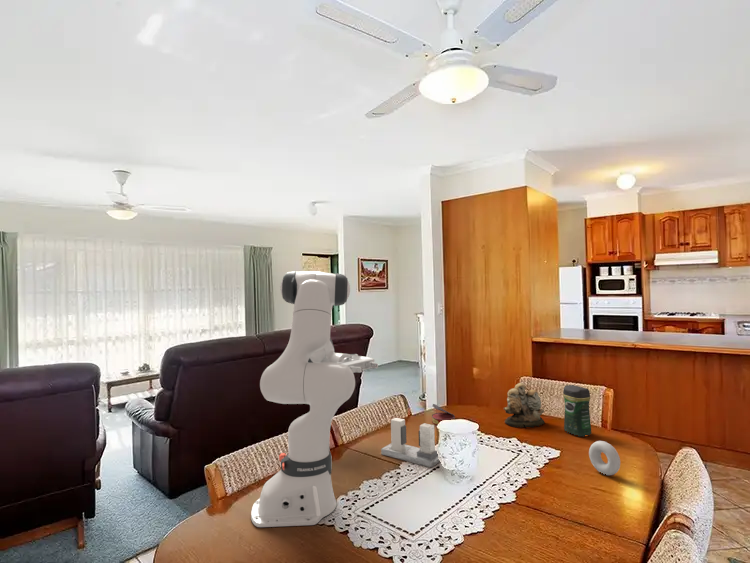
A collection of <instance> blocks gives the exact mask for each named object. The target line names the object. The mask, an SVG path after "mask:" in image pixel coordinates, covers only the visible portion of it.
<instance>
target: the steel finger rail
mask: <svg viewBox="0 0 750 563" xmlns="http://www.w3.org/2000/svg"><path fill="white" fill-rule="evenodd" d="M435 438H436V437H435V425H434V424H429V423H425V422H424V423H422V424H420V425H419V430H418V446H419V447H417V446H413V445H408V444H405V447H406V451H404V452H400V451H396V450H392V449H391V443H389V444H387V445H385V446H384V447H382V448H381V449H380V450H381V452H380V454H381V455H383V456H387V457H390V458H394V459H398V460H401V461H405V462H409V463H413V464H416V465H419V466H422V467H423V466H424V467H428V468H433V467H434V466H436V465H437V464H439V463H440V462H439V459H438V454H437V451H438V450H436V442H435V441H436V440H435Z"/></svg>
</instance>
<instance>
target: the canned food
mask: <svg viewBox="0 0 750 563" xmlns="http://www.w3.org/2000/svg"><path fill="white" fill-rule="evenodd" d="M432 407H433V409H436V410H438V411H440V412H436V413H432V415H431V423H432V425H434V426H438V425H437V424H438V423H439V422H440V421H442V420H451V419H455V418H456V416H455V414H453V413H451V412H449V411H447V410H446V409H443V408H442V407H440V406H439V405H437V404H434V403H432ZM455 420H456V419H455Z"/></svg>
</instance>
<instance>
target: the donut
mask: <svg viewBox="0 0 750 563" xmlns="http://www.w3.org/2000/svg"><path fill="white" fill-rule="evenodd" d="M602 453H603V454H604V455H605V456H606V458H607V462H605V461H604V460H603V458H602ZM588 456H589V460H590V463H591V464H592V465H593V467H594V469H596V471H597V472H598V473H600V472H601V474H602V473H603V474H602V475H605V474H606V475H605V476H614V475H615V474H617V473H618V471H619V470H620V468H621V459H620V457H621V456H620V455H619V453H618V451H617V450H616V448H615V447H614V446H613V445H612V444H610V443H608V442H607V441H604V440H596V441H595V442H593V443H592V444H591V445H590V447H589V449H588Z"/></svg>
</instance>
